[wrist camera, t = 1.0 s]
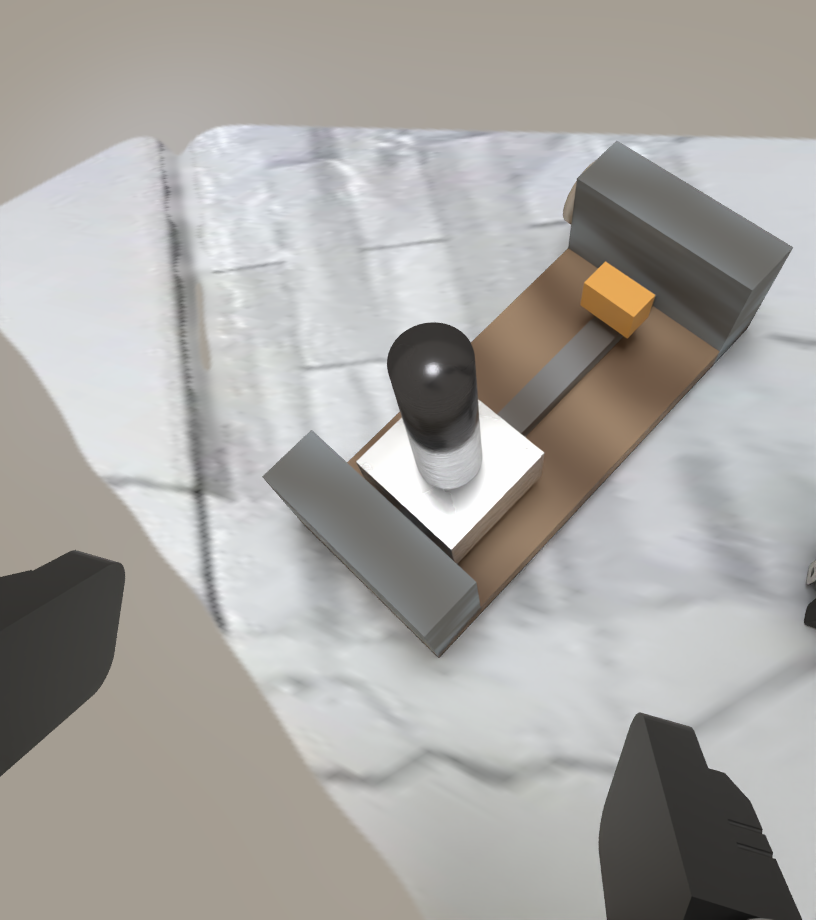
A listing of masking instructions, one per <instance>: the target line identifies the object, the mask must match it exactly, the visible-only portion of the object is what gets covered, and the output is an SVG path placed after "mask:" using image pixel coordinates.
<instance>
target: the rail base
mask: <svg viewBox="0 0 816 920" xmlns="http://www.w3.org/2000/svg"><path fill="white" fill-rule="evenodd" d="M563 218H564V220H565V221H566V222H568V223H569V224H571V231H570V239H569V247H568V249H567V250H566V251H565V252H564V253H563V254H562V255H561V256H560V257H559V258H558V259H557V260H556V261H555V262H554V263H553V264H551V265H550V266H549V267H548V268H547V269H546V270H545V271H544V272H543V273H542V274H541V275H540V276H539V277H538V278H537V279H536V280H535V281H534V282H533V283H532V284H531V285H530V286H529V287H528V288H527V289H526V290H525V291H524V292H523V293H522V294H521V295H520V296H518V297H517V298H516V299H515V300H514V301H513V302H512V303H511V304H510V305H509V306H508V307H507V308H506V309H505V310H504V311H503V312H502V313H501V314H500V315H499V316H498V317H497V318H496V319H495V320H494V321H493V322H492V323H491V324H490V325H489V326H488V327H487V328H486V329H484V330H483V331H482V332H481V333H480V334H479V335H478V336H477V337H476V338H475V339H474V340H473V341H472V342H471V344H472V347H473V350H474V354H475V365H476V378H477V391H478V400H480V401H481V402H482V403H483V404H485V405H486V406H487V407H488V408H490V409H491V410H492V411H493V412H494V413H496V414H497V415H498V416H499V417H501V418H502V419H503V420H504V421H506V422H507V423H508V424H509V425H511V426H512V427H513V428H514V429H515V430H517V431H518V432H519V433H520V434H522V435H523V436H524V437H525V438H527V439H528V440H529V441H530V442H531V443H533V444H534V445H535V446H536V447H538V448H539V449H540V450H541V451H543V452H544V459H543V467H542V474H541V477H540V478H539V479H538V480H537V481H536V482H535V483H534V484H533V485H532V486H531V487H530V488H529V489H528V490H527V491H526V493H525V494H524V495H523V496H522V497H521V498H520V499H519V500H518V501H517V502H516V503H515V504H514V505H513V506H512V507H511V508H510V509H509V510H508V511H507V512H506V513H505V514H504V515H503V517H502V518H501V519H500V520H499V521H498V522H497V523H496V524H495V525H494V526H493V527H492V528H491V529H490V530H489V531H488V532H487V533H486V534H485V535H484V536H483V537H482V538H481V539H480V540H479V542H478V543H477V544H476V545H475V546H474V547H473V548H472V549H471V550H470V551H469V552H468V553H467V554H466V555H465V556H464V557H463V558H462V559H461V560H460V561H459V562H458V563H457V564H456V563H455V562H454V561H453V560H452V559H451V558H450V557H449V556H448V555H447V554H445V553H444V552H443V551H442V550H441V549H440V548H439V547H438V546H437V545H436V544H435V543H434V542H432V541H431V540H430V539H429V538H428V537H427V536H426V535H425V534H424V533H423V532H422V531H421V530H419V529H418V528H417V527H416V526H415V525H414V524H413V523H412V522H411V521H410V520H409V519H408V518H406V517H405V516H404V515H403V514H402V513H401V512H400V511H399V510H398V509H397V508H396V507H395V506H393V505H392V504H391V503H390V502H389V501H388V500H387V499H386V498H385V497H384V496H383V495H382V494H380V493H379V492H378V491H377V490H376V489H375V488H374V487H373V486H372V485H371V484H370V483H369V482H367V481H366V480H365V479H364V477H363V475H362V473H361V471H360V469H359V467H358V465H357V463H356V461H357V460H359V459H360V458H361V457H362V456H363V455H364V454H365V453H366V452H367V451H368V450H369V449H370V448H371V447H372V446H373V445H374V444H375V443H376V442H377V441H378V440H379V439H380V438H381V437H382V436H383V435H384V434H385V433H386V432H387V431H388V430H389V429H390V428H391V427H392V426H393V425H394V424H396V423H397V422H398V421H399V420H400V419H401V418H402V416H401V413H400V412H399V413H398V414H397V415H396V416H395V417H394V418H393V419H392V420H391V421H390V422H389V423H388V424H387V425H386V426H385V427H383V428H382V429H381V430H380V431H379V432H378V433H377V434H376V435H375V436H374V437H373V438H372V439H371V440H370V441H369V442H368V443H367V444H366V445H365V446H364V447H363V448H362V449H361V450H360V451H359V452H358V453H357V454H356V455H355V456H354V457H353V458H352V459H350V460H349V461H348V462H346V461H345V460H344V459H343V458H341V457H340V456H339V455H338V454H337V453H336V452H335V451H334V450H333V449H332V448H331V447H330V446H328V445H327V444H326V443H325V442H324V441H323V440H322V439H321V438H320V437H319V436H318V435H316V434H315V433H314V432H313V431H312V430H311V431H310V432H309V433H308V434H307V435H306V436H305V437H304V438H303V439H301V440H300V441H299V442H298V443H297V444H296V445H295V446H294V447H293V448H292V449H291V450H290V451H289V452H288V453H287V454H286V455H285V456H284V457H282V458H281V459H280V460H279V461H278V462H277V463H276V464H275V465H274V466H273V467H272V468H271V469H270V470H269V471H268V472H267V473H266V474H265V475H263V476H262V477H263V478H264V479H265V480H266V482H267V483H268V484H269V485H270V486H271V487H272V489H273V490H274V491H275V492H276V493H277V494H278V495H279V497H280V498H281V499H282V500H283V501H284V502H285V504H286V505H287V506H288V507H289V508H290V509H291V510H292V512H293V513H294V514H295V515H296V516H297V517H298V519H299V520H300V521H301V522H302V523H303V524H304V525H305V526H306V527H307V528H308V529H309V530H310V531H311V532H312V533H313V534H314V535H315V536H316V537H317V538H318V539H319V540H320V541H321V542H322V543H323V544H324V545H325V546H326V547H327V548H328V549H329V550H330V551H331V552H332V553H333V554H334V555H335V556H336V557H337V558H338V559H339V560H340V561H341V562H342V563H343V564H344V565H345V566H346V567H347V568H348V569H349V570H350V571H351V572H352V573H353V574H354V575H355V576H356V577H357V578H358V579H359V580H360V581H362V582H363V583H364V584H365V585H366V586H367V587H368V588H369V589H370V590H371V591H372V592H373V593H374V594H375V595H376V596H377V597H378V598H379V599H380V600H381V601H382V602H383V603H384V604H385V605H386V606H387V607H388V608H389V609H390V610H391V611H392V612H393V613H394V614H395V615H396V616H397V617H398V618H399V619H400V620H401V621H402V622H403V623H404V624H405V625H406V626H407V627H408V628H409V629H410V630H411V631H412V632H413V633H414V634H415V635H416V636H417V637H418V638H419V639H420V640H421V641H422V642H423V643H424V644H425V645H426V646H427V647H428V648H429V649H430V650H431V651H432V652H433V653H434V654H435V655H436V656H437V657H438V658H439V657H440V656H441V655H442V654H443V653H444V652H445V651H446V650H447V649H448V648H449V647H450V646H451V645H452V644H453V642H454V641H455V640H456V639H457V638H458V637H459V636H460V635H461V634H462V633H463V632H464V631H465V630H466V629H467V627H468V626H469V625H470V624H471V623H472V622H473V621H474V620H475V619H476V618H477V617H478V616H479V615H480V614H481V613H482V611H483V610H484V609H485V608H486V607H487V606H488V605H489V604H490V603H491V602H492V601H493V600H494V599H495V598H496V596H497V595H498V594H499V593H500V592H501V591H502V590H503V589H504V588H505V587H506V586H507V585H508V584H509V583H510V582H511V580H512V579H513V578H514V577H515V576H516V575H517V574H518V573H519V572H520V571H521V570H522V569H523V568H524V567H525V565H526V564H527V563H528V562H529V561H530V560H531V559H532V558H533V557H534V556H535V555H536V554H537V553H538V552H539V551H540V549H541V548H542V547H543V546H544V545H545V544H546V543H547V542H548V541H549V540H550V539H551V538H552V537H553V536H554V534H555V533H556V532H557V531H558V530H559V529H560V528H561V527H562V526H563V525H564V524H565V523H566V522H567V521H568V519H569V518H570V517H571V516H572V515H573V514H574V513H575V512H576V511H577V510H578V509H579V508H580V507H581V506H582V505H583V503H584V502H585V501H586V500H587V499H588V498H589V497H590V496H591V495H592V494H593V493H594V492H595V491H596V490H597V488H598V487H599V486H600V485H601V484H602V483H603V482H604V481H605V480H606V479H607V478H608V477H609V476H610V475H611V474H612V472H613V471H614V470H615V469H616V468H617V467H618V466H619V465H620V464H621V463H622V462H623V461H624V460H625V459H626V457H627V456H628V455H629V454H630V453H631V452H632V451H633V450H634V449H635V448H636V447H637V446H638V445H639V444H640V443H641V441H642V440H643V439H644V438H645V437H646V436H647V435H648V434H649V433H650V432H651V431H652V430H653V429H654V428H655V426H656V425H657V424H658V423H659V422H660V421H661V420H662V419H663V418H664V417H665V416H666V415H667V414H668V413H669V412H670V410H671V409H672V408H673V407H674V406H675V405H676V404H677V403H678V402H679V401H680V400H681V399H682V398H683V397H684V395H685V394H686V393H687V392H688V391H689V390H690V389H691V388H692V387H693V386H694V385H695V384H696V383H697V382H698V381H699V379H700V378H701V377H702V376H703V375H704V374H705V373H706V372H707V371H708V370H709V369H710V368H711V367H712V366H713V364H714V363H715V362H716V361H717V360H718V359H719V358H720V357H721V356H722V355H723V354H724V353H725V352H726V351H727V349H728V348H729V347H730V346H731V345H732V344H733V343H734V342H735V341H736V340H737V339H738V338H739V337H740V336H741V335H742V333H743V332H744V331H745V330H746V329H747V328H748V326H749V324H750V323H751V321H752V319H753V317H754V316H755V314H756V312H757V310H758V309H759V307H760V305H761V303H762V301H763V300H764V298H765V296H766V294H767V293H768V291H769V289H770V287H771V286H772V284H773V282H774V280H775V279H776V277H777V275H778V273H779V272H780V270H781V268H782V266H783V264H784V263H785V261H786V259H787V257H788V256H789V254H790V252H791V250H792V249H793V247H792V246H790V245H788V244H787V243H785V242H784V241H782V240H780V239H779V238H777V237H775V236H774V235H772V234H770V233H769V232H767V231H765V230H764V229H762V228H760V227H759V226H757V225H755V224H754V223H752V222H750V221H749V220H747V219H746V218H744V217H742V216H741V215H739V214H737V213H736V212H734V211H732V210H731V209H729V208H727V207H726V206H724V205H722V204H721V203H719V202H717V201H716V200H714V199H712V198H711V197H709V196H708V195H706V194H704V193H703V192H701V191H699V190H698V189H696V188H694V187H693V186H691V185H689V184H688V183H686V182H684V181H683V180H681V179H679V178H678V177H676V176H674V175H673V174H671V173H669V172H668V171H666V170H665V169H663V168H661V167H660V166H658V165H656V164H655V163H653V162H651V161H650V160H648V159H646V158H645V157H643V156H641V155H640V154H638V153H636V152H635V151H633V150H631V149H630V148H628V147H627V146H625V145H623V144H622V143H620V142H618V141H616V142H615V143H614V144H613V145H612V146H611V147H610V148H609V149H607V150H606V151H605V152H604V153H603V154H602V155H601V156H600V157H599V158H598V159H597V160H596V161H594V162H593V163H592V164H590V165H589V166H588V167H587V168H586V169H585V171H584V172H583V173H582V174H581V175H580V176H579V177H578V178H577V181H576V182H575V184H574V186H573V187H572V189H571V191H570V193H569V195H568V197H567V200H566V202H565V205H564V209H563ZM605 261H606V262H607V263H609V264H610V265H612V266H613V267H615V268H616V269H618V270H619V271H621V272H622V273H623V274H625V275H626V276H628V277H629V278H631V279H632V280H634V281H635V282H637V283H638V284H640V285H641V286H643V287H644V288H646V289H647V290H649V291H650V292H652V293H653V294H655V298H654V301H653V304H652V307H651V310H650V313H649V316H648V318H647V319H646V320H645V321H644V322H643V323H642V324H641V325H640V326H639V327H638V328H637V329H636V330H635V331H634V332H633V333H632V335H631V336H630V337H629V338H628V339H627V338H626V337H624V336H623V335H621V334H620V333H619V332H617V331H616V330H614V329H613V328H612V327H610V326H609V325H607V324H606V323H605V322H603V321H602V320H600V319H599V318H598V317H596V316H595V315H593V314H592V313H591V312H589V311H588V310H586V309H585V308H584V307H582V306H581V305H580V304H581V298H582V292H583V286H584V282H585V281H586V280H587V279H588V278H589V277H590V276H591V275H592V274H593V273H594V272H595V271H596V270H597V269H598V268H599V267H600V266H601V265H602V264H603V263H604V262H605Z"/></svg>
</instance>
